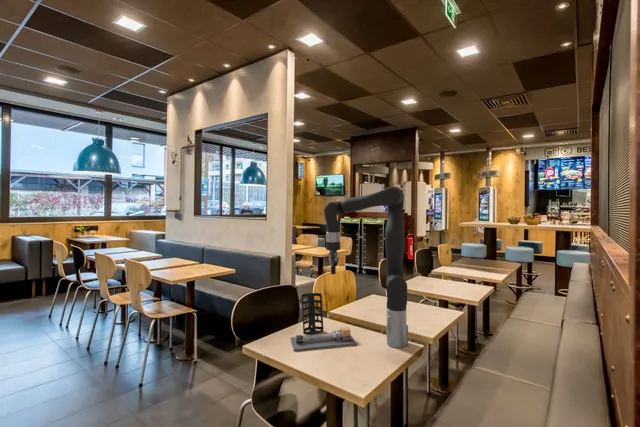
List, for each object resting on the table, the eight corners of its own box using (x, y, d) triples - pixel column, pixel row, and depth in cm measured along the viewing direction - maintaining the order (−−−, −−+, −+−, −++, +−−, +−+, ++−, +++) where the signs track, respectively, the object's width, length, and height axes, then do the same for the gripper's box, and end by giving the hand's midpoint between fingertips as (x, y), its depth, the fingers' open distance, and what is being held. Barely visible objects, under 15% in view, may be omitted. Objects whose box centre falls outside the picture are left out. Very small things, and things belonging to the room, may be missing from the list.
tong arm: (332, 335, 168) (333, 333, 168) (334, 337, 165) (334, 335, 165) (294, 337, 164) (294, 335, 164) (295, 340, 161) (295, 337, 161)
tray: (348, 333, 176) (348, 332, 176) (356, 345, 162) (356, 343, 162) (290, 339, 170) (290, 337, 170) (294, 351, 156) (294, 349, 156)
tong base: (346, 332, 175) (346, 325, 175) (352, 340, 165) (352, 333, 165) (294, 336, 170) (294, 330, 170) (297, 346, 159) (297, 338, 159)
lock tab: (348, 332, 170) (348, 326, 170) (350, 335, 167) (350, 329, 166) (340, 333, 170) (340, 327, 170) (342, 336, 166) (342, 330, 166)
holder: (305, 335, 173) (304, 296, 174) (300, 331, 180) (299, 293, 181) (325, 332, 177) (323, 293, 179) (319, 329, 184) (318, 291, 186)
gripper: (343, 242, 169) (343, 276, 170) (336, 239, 182) (336, 271, 183) (329, 242, 168) (329, 277, 169) (323, 239, 181) (323, 271, 182)
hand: (333, 273), depth 176 cm, fingers closed
